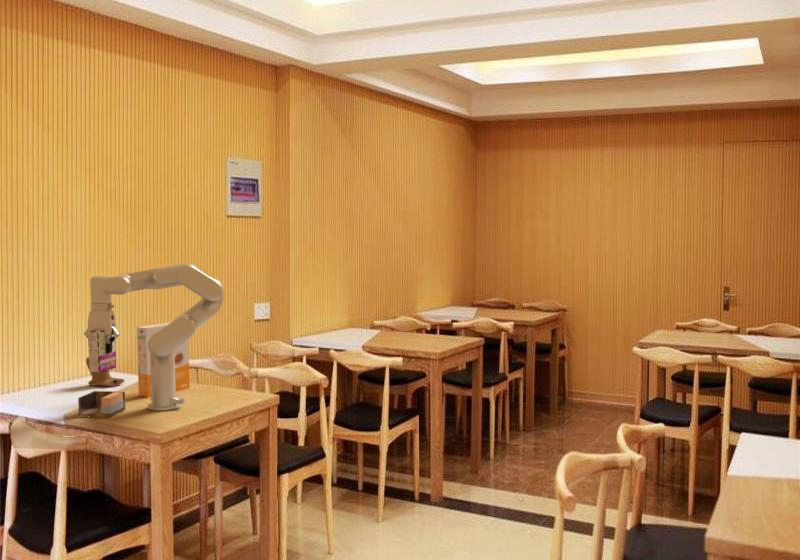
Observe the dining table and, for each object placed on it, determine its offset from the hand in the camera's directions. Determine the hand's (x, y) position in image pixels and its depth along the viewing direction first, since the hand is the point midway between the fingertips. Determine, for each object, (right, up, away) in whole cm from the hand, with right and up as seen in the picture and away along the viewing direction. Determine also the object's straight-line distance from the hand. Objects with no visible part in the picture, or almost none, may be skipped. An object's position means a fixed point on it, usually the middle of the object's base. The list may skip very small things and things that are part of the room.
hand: (102, 352), depth 304 cm
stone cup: (-19, -20, +50) cm, 57 cm away
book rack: (+1, -24, -2) cm, 24 cm away
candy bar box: (0, -7, +1) cm, 7 cm away
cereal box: (+14, -21, +36) cm, 44 cm away
